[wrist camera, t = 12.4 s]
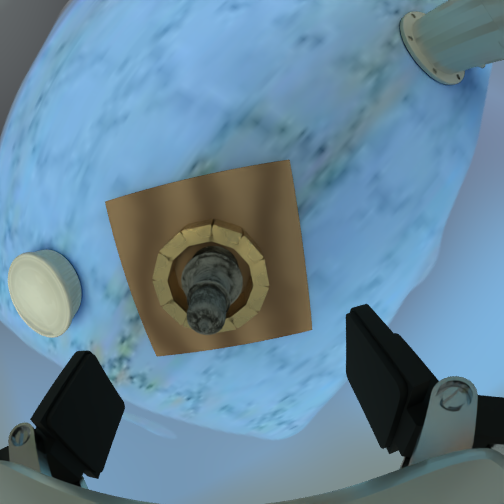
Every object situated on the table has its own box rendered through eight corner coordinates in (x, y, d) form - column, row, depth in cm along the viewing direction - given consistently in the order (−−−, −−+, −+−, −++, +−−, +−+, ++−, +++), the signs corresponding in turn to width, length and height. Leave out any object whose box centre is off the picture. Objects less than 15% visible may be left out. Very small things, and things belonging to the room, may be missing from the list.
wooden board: (287, 160, 27) (289, 159, 26) (310, 325, 33) (312, 329, 32) (108, 200, 27) (105, 201, 26) (158, 351, 32) (156, 356, 31)
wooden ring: (253, 210, 27) (256, 215, 24) (270, 306, 30) (275, 321, 27) (150, 232, 27) (140, 240, 24) (178, 322, 30) (172, 339, 27)
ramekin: (30, 303, 29) (11, 319, 24) (29, 232, 27) (5, 242, 22) (87, 330, 31) (71, 351, 26) (91, 256, 28) (70, 270, 23)
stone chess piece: (206, 231, 28) (188, 273, 16) (252, 263, 29) (265, 322, 17) (176, 275, 29) (146, 337, 17) (221, 304, 30) (217, 376, 18)
